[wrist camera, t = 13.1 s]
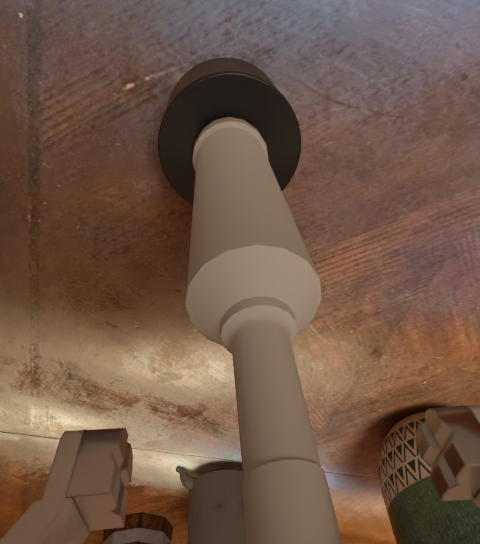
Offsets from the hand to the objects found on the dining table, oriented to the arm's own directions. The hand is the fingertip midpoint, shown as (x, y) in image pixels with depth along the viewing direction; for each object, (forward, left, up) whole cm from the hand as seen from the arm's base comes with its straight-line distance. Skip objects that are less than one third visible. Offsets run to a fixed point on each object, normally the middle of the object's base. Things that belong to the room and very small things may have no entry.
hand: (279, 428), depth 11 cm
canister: (0, 0, -29) cm, 29 cm away
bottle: (0, 0, -22) cm, 22 cm away
